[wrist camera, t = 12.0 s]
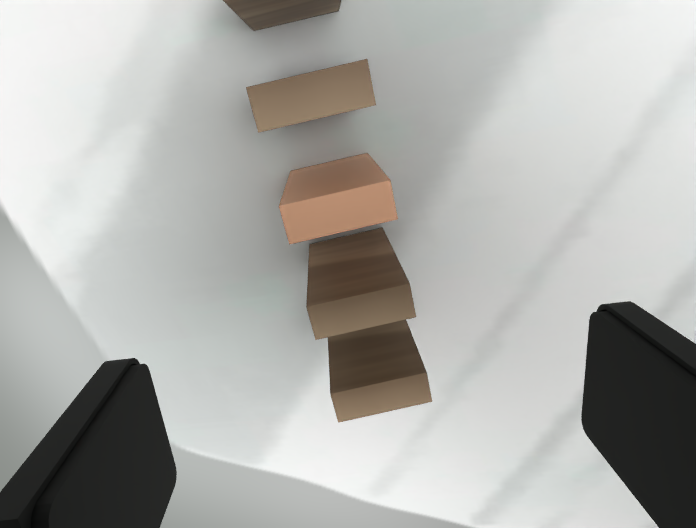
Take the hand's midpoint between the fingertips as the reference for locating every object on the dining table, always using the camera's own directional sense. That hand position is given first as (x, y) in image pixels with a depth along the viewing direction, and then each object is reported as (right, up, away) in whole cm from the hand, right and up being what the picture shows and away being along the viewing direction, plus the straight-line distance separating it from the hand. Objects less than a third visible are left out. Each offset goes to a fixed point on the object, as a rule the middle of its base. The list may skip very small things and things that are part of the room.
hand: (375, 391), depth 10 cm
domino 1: (0, -1, +24) cm, 24 cm away
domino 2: (-1, +4, +22) cm, 23 cm away
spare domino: (-2, +8, +21) cm, 22 cm away
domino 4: (-3, +13, +19) cm, 23 cm away
